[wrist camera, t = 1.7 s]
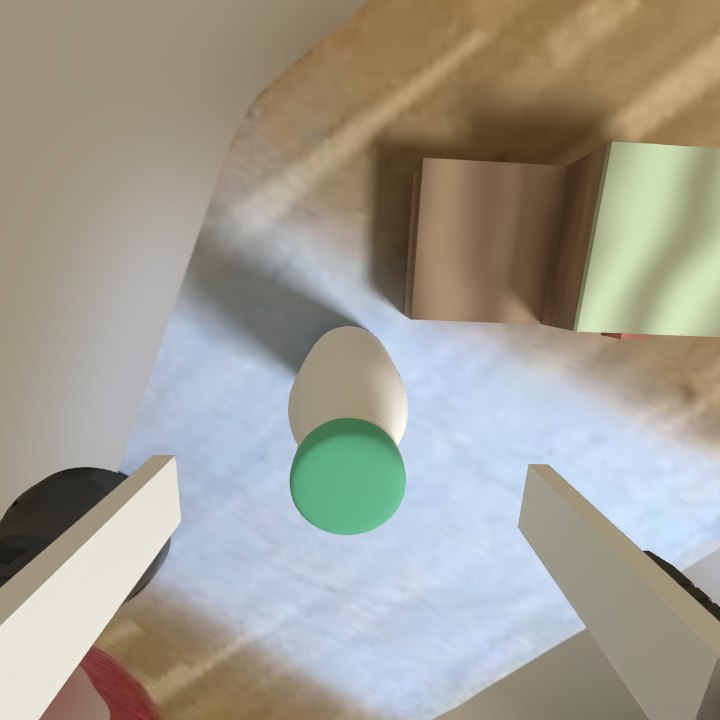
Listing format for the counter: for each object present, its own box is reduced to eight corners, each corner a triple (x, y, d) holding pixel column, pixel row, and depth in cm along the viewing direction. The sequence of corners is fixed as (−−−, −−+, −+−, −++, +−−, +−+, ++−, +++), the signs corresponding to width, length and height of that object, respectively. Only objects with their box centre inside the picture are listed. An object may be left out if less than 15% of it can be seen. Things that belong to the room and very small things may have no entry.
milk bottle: (292, 368, 32) (204, 498, 13) (344, 308, 31) (337, 348, 11) (352, 417, 33) (356, 604, 14) (404, 361, 32) (489, 479, 13)
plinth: (403, 321, 31) (422, 334, 23) (413, 167, 28) (439, 119, 20) (627, 329, 32) (722, 345, 24) (660, 181, 29) (781, 141, 21)
